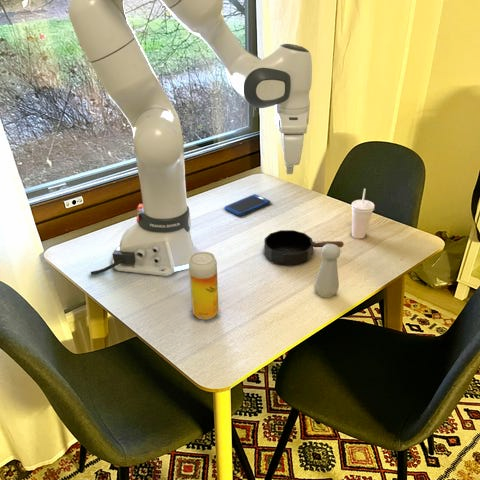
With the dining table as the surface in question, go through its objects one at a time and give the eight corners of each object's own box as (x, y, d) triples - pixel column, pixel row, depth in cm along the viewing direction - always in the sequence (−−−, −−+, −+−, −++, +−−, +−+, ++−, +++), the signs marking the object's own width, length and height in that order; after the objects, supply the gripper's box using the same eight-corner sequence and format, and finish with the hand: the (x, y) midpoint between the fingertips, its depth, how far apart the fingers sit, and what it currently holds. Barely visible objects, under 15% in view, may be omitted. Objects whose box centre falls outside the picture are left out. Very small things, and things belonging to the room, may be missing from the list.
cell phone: (270, 202, 166) (270, 200, 166) (239, 216, 159) (239, 214, 158) (254, 195, 171) (254, 193, 170) (223, 209, 163) (223, 206, 163)
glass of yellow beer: (220, 319, 119) (218, 263, 110) (194, 322, 118) (190, 266, 109) (216, 303, 124) (213, 249, 114) (190, 307, 123) (186, 252, 114)
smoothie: (367, 229, 152) (374, 184, 144) (371, 240, 147) (379, 194, 139) (345, 230, 152) (351, 185, 143) (349, 241, 147) (356, 194, 138)
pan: (265, 266, 137) (265, 254, 135) (263, 241, 147) (263, 230, 145) (346, 266, 137) (347, 254, 134) (339, 241, 147) (340, 230, 145)
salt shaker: (336, 301, 124) (343, 254, 116) (312, 298, 125) (317, 252, 117) (338, 287, 129) (344, 241, 121) (315, 285, 130) (319, 239, 122)
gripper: (276, 104, 139) (275, 154, 148) (281, 129, 123) (278, 184, 132) (300, 104, 139) (297, 154, 148) (307, 129, 123) (303, 184, 132)
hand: (288, 168), depth 140 cm, fingers open, 4 cm apart
